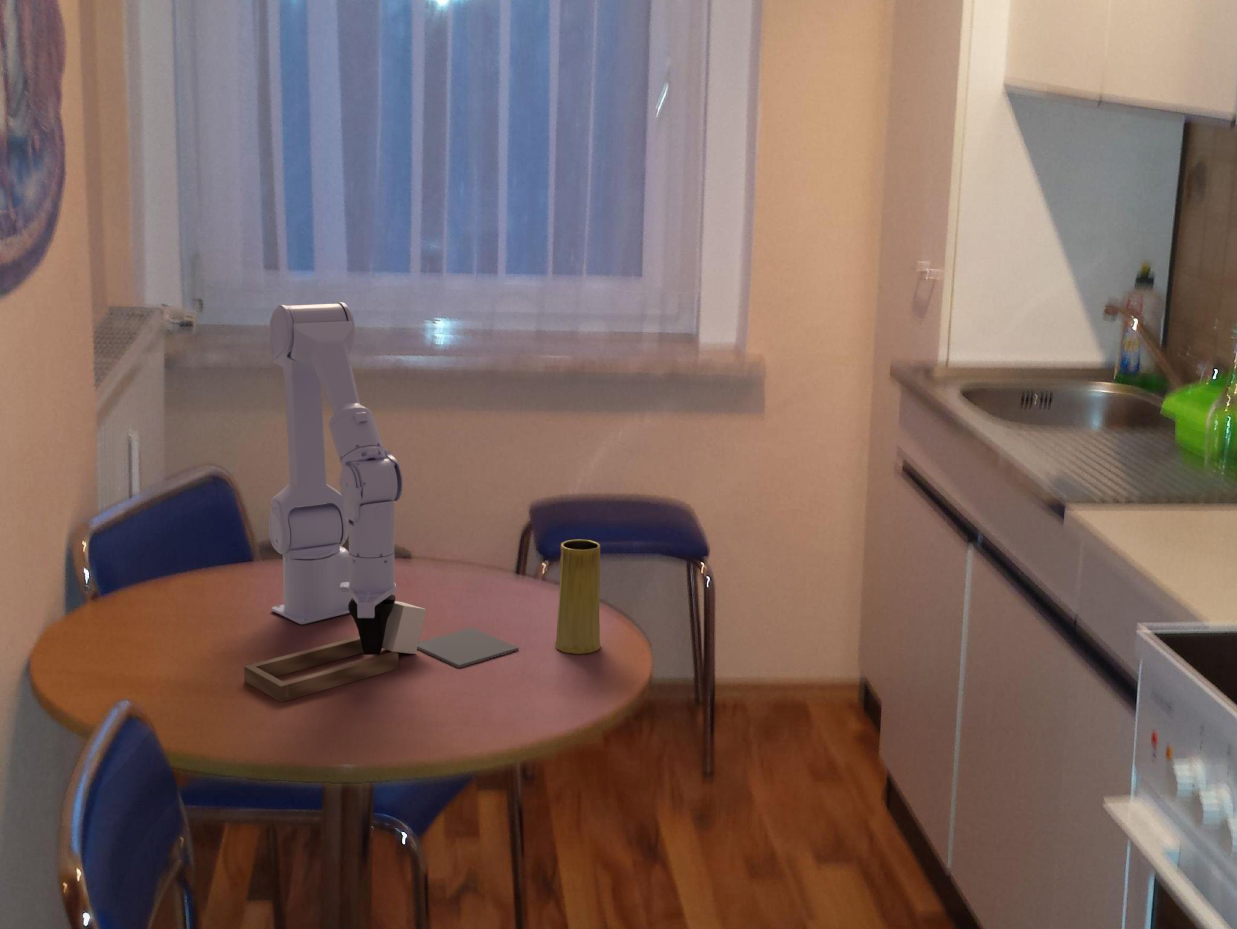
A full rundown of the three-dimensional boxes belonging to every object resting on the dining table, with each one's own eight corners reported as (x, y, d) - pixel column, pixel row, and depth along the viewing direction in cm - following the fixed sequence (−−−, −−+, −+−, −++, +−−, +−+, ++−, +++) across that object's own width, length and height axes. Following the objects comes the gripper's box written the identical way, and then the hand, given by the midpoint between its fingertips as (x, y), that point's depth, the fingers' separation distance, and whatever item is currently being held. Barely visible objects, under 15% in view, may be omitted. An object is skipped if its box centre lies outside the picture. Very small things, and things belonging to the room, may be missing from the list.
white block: (390, 646, 189) (401, 601, 189) (415, 653, 186) (426, 609, 187) (367, 643, 185) (378, 598, 186) (392, 651, 183) (403, 605, 183)
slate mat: (471, 630, 196) (471, 627, 196) (518, 650, 189) (518, 647, 189) (412, 646, 189) (412, 643, 189) (458, 668, 182) (459, 665, 182)
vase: (610, 647, 191) (613, 545, 188) (577, 658, 187) (580, 554, 183) (577, 635, 195) (580, 535, 192) (545, 646, 191) (547, 544, 187)
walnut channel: (360, 650, 187) (360, 635, 187) (398, 668, 181) (398, 653, 181) (244, 681, 175) (244, 666, 175) (281, 702, 170) (280, 686, 169)
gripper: (346, 535, 187) (348, 633, 190) (331, 568, 173) (333, 673, 176) (401, 536, 187) (401, 633, 190) (390, 569, 173) (391, 674, 176)
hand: (372, 653), depth 183 cm, fingers closed
